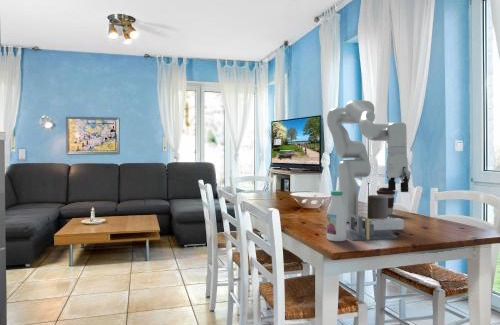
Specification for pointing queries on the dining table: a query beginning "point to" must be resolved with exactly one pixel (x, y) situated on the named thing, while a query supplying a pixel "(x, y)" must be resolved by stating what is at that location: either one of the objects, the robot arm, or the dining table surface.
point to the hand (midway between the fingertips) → (398, 191)
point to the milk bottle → (336, 218)
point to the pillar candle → (377, 207)
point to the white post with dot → (387, 223)
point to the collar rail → (366, 230)
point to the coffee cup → (390, 198)
